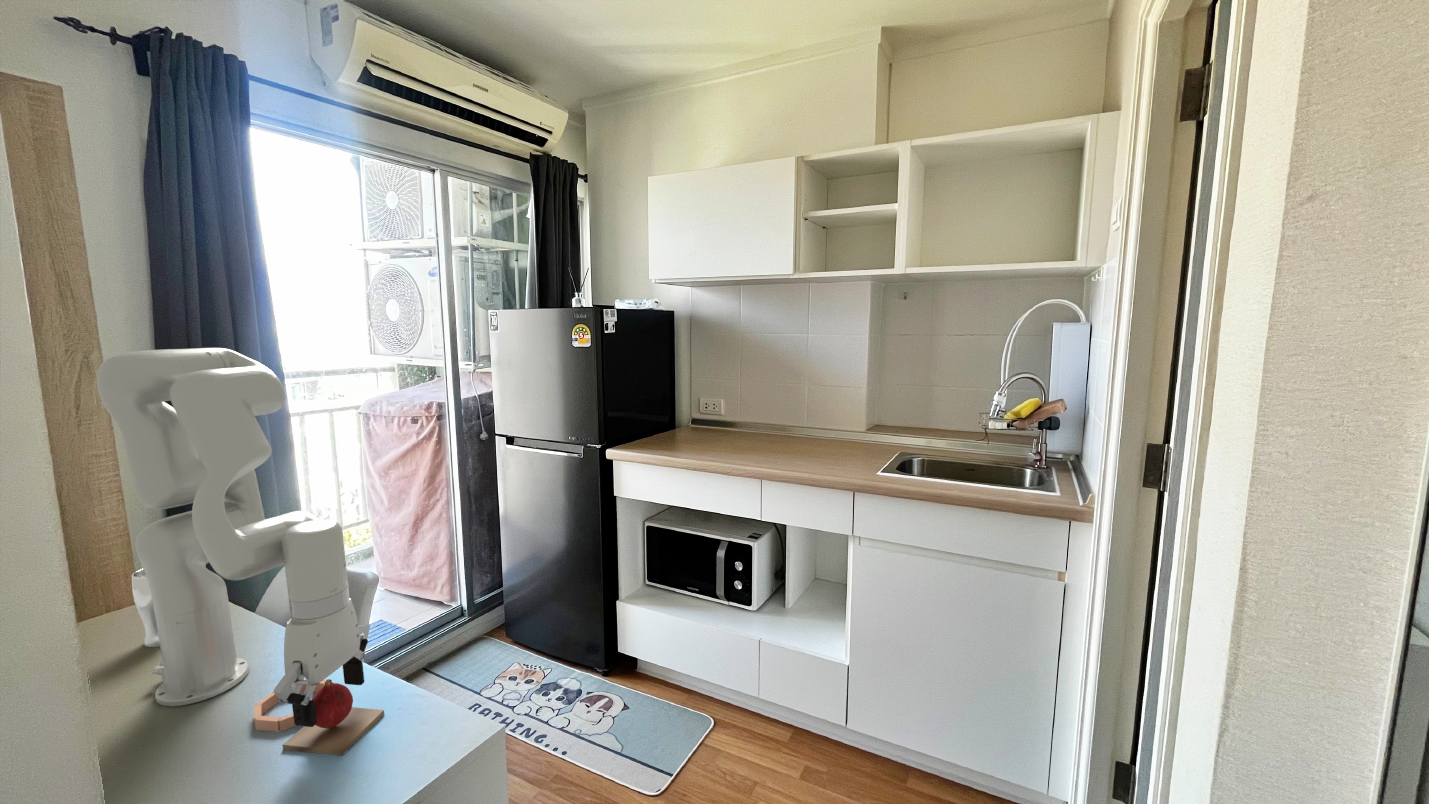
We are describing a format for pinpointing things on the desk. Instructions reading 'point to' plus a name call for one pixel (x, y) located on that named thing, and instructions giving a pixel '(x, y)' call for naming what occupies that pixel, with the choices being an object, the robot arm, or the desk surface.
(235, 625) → the desk surface
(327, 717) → the onion
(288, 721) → the ring holder
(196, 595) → the robot arm
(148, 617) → the beer glass
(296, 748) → the board
